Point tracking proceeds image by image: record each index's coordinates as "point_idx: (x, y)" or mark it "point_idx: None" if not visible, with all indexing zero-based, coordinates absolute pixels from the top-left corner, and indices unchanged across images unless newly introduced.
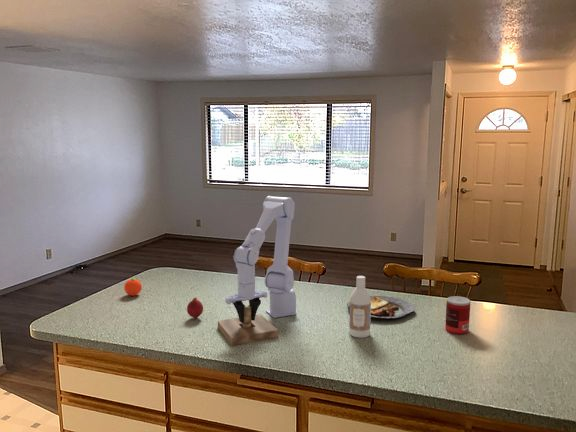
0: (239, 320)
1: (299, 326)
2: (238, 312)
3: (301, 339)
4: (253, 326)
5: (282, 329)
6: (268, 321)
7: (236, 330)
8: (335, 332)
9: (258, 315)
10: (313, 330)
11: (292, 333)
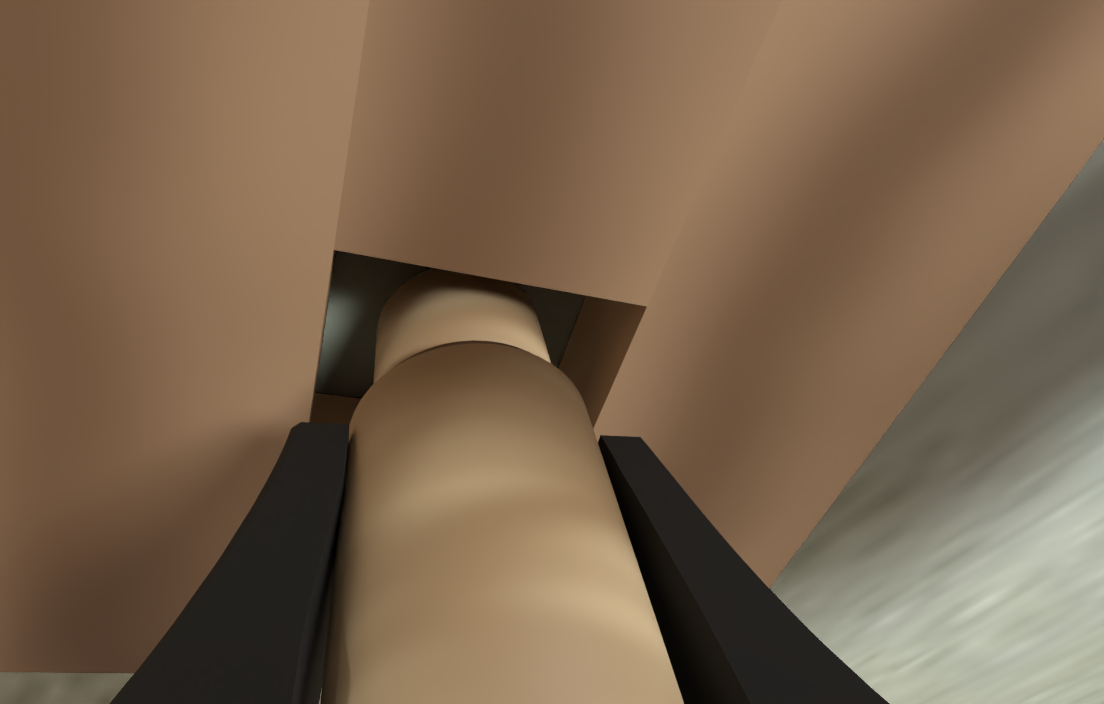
0: (289, 438)
1: (1073, 490)
2: (221, 637)
3: None
4: (591, 382)
5: (891, 468)
6: (876, 438)
7: (143, 488)
8: (1066, 679)
9: (1076, 66)
10: (1029, 603)
11: (854, 580)
